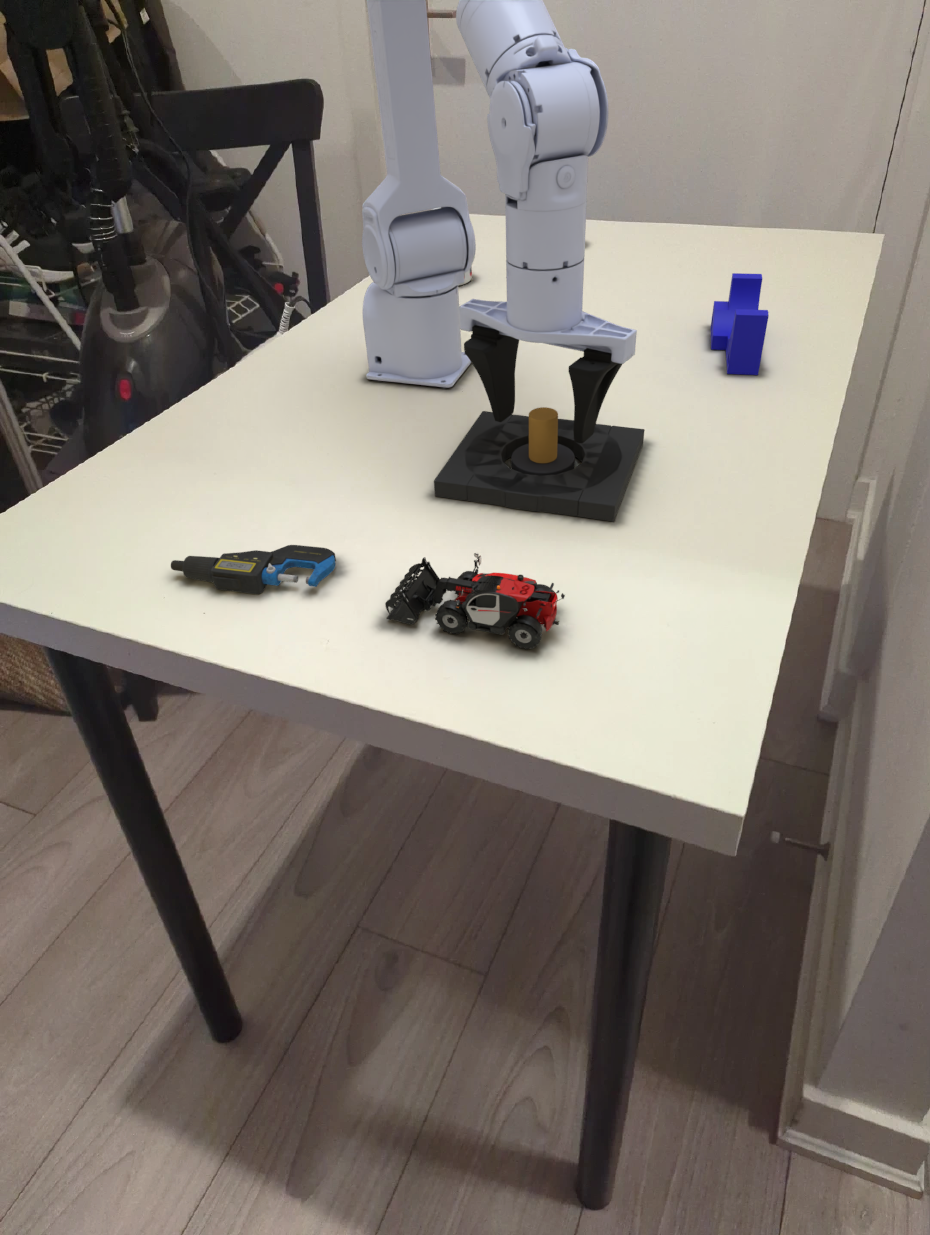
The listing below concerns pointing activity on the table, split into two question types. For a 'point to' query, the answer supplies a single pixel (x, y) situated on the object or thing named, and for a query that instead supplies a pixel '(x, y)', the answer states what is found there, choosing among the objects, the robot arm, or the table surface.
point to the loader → (478, 603)
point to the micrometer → (258, 567)
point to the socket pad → (570, 493)
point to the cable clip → (740, 325)
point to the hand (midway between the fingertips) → (543, 427)
